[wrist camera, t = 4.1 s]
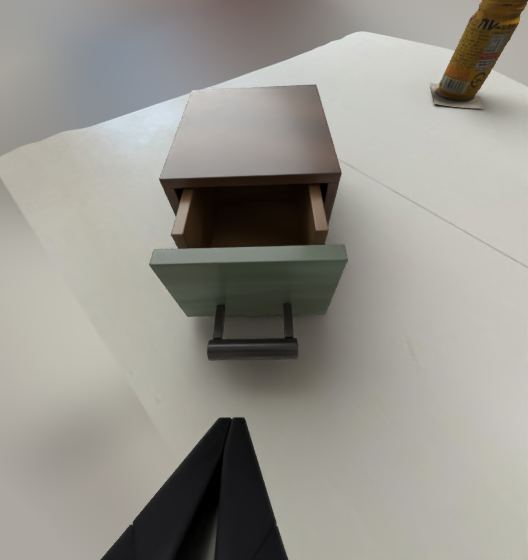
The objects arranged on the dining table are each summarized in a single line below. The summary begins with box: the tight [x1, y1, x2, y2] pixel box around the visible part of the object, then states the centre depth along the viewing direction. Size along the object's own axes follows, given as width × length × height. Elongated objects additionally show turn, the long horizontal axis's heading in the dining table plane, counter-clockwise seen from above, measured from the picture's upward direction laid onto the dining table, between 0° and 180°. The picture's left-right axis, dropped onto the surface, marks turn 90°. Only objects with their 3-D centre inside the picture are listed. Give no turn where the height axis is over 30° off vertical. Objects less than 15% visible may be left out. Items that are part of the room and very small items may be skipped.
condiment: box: [430, 0, 528, 109], centre depth 36 cm, size 7×8×12 cm
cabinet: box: [159, 85, 341, 226], centre depth 24 cm, size 15×13×9 cm
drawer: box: [149, 183, 348, 360], centre depth 19 cm, size 18×11×7 cm, turn 0°
